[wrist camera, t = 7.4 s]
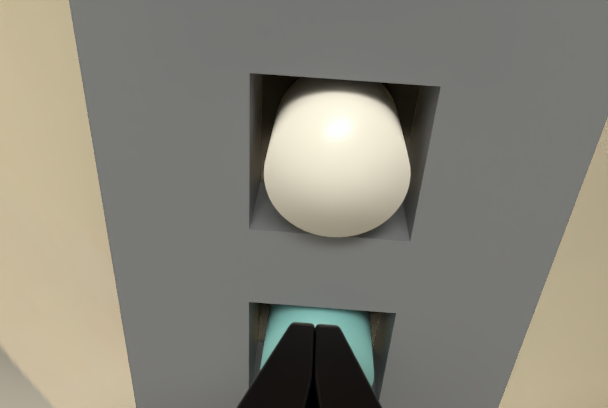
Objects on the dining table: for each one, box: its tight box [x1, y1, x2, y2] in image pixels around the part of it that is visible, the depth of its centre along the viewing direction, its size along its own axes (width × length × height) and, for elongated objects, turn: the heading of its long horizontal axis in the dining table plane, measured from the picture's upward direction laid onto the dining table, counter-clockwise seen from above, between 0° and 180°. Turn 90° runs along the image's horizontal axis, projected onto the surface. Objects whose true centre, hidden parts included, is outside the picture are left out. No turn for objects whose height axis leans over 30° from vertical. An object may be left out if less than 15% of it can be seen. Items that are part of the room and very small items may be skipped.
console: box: [69, 0, 608, 408], centre depth 17 cm, size 14×24×3 cm, turn 177°
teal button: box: [260, 304, 374, 387], centre depth 21 cm, size 4×4×3 cm
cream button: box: [264, 77, 411, 237], centre depth 17 cm, size 4×4×3 cm
